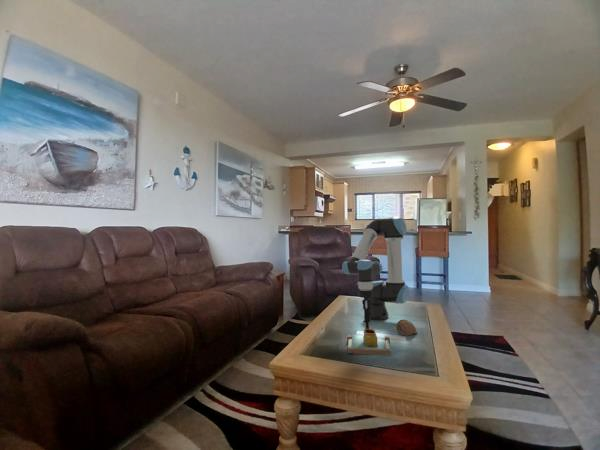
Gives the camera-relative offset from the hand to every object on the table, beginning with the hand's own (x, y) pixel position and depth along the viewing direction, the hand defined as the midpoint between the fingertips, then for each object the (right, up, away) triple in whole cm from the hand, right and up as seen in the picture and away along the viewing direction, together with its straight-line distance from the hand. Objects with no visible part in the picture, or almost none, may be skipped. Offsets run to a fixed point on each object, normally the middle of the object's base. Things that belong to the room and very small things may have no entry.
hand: (367, 334), depth 158 cm
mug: (-1, -2, -6) cm, 7 cm away
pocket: (-3, -2, -13) cm, 14 cm away
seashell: (+23, -2, +5) cm, 23 cm away
